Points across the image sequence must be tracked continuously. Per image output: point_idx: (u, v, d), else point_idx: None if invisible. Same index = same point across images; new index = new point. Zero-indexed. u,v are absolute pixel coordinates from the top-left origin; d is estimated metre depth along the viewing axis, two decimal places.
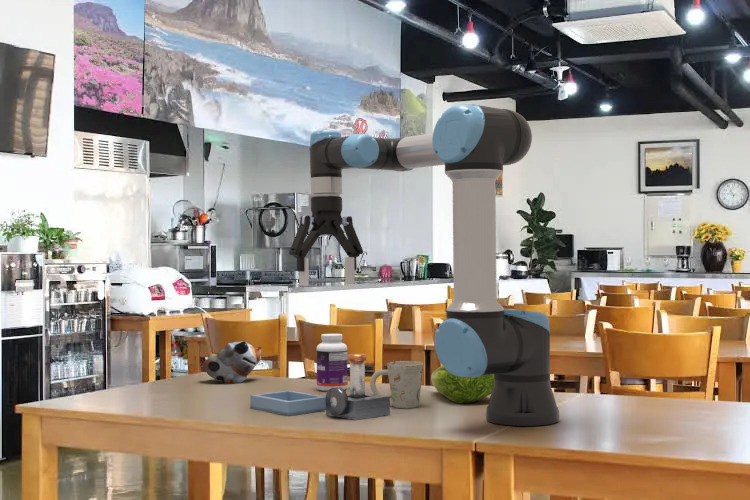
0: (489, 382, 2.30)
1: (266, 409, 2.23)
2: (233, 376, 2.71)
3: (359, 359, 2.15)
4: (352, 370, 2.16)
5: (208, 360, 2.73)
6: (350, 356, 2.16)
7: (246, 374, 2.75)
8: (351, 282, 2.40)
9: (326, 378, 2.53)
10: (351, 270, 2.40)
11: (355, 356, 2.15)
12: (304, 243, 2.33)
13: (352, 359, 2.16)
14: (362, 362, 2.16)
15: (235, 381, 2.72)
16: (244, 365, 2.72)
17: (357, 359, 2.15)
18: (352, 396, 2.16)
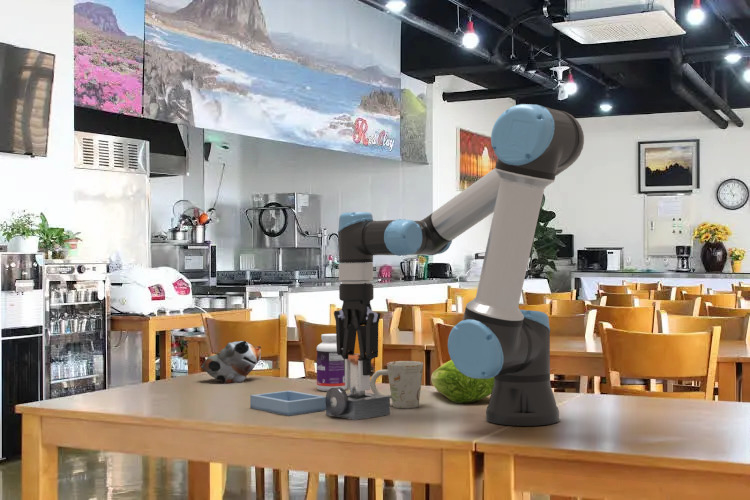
0: (489, 382, 2.30)
1: (266, 409, 2.23)
2: (234, 375, 2.73)
3: None
4: (352, 370, 2.16)
5: (208, 360, 2.74)
6: (350, 356, 2.16)
7: (246, 373, 2.76)
8: None
9: (326, 378, 2.53)
10: None
11: (355, 356, 2.15)
12: None
13: (352, 359, 2.16)
14: None
15: (236, 380, 2.73)
16: (244, 364, 2.73)
17: (357, 359, 2.15)
18: (352, 396, 2.16)
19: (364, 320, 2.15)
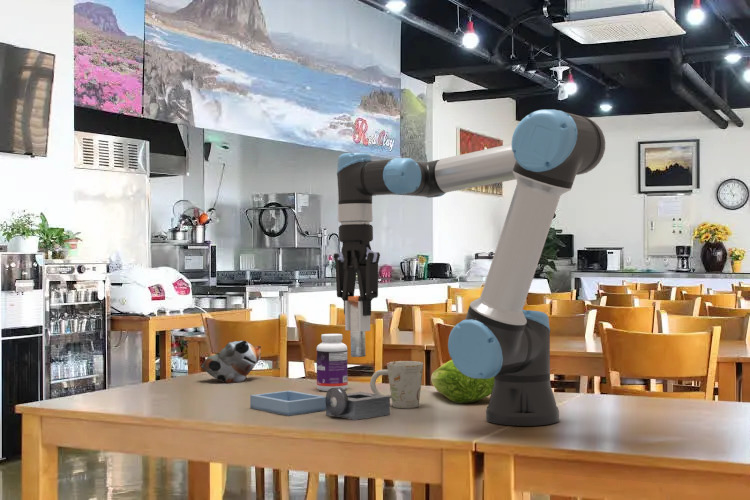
0: (489, 382, 2.30)
1: (266, 409, 2.23)
2: (234, 375, 2.73)
3: None
4: (352, 312, 2.16)
5: (209, 359, 2.74)
6: (350, 297, 2.16)
7: (246, 373, 2.77)
8: None
9: (326, 378, 2.53)
10: None
11: (355, 297, 2.15)
12: None
13: (352, 300, 2.16)
14: None
15: (236, 380, 2.74)
16: (245, 364, 2.74)
17: (357, 300, 2.15)
18: (352, 337, 2.16)
19: (364, 261, 2.15)
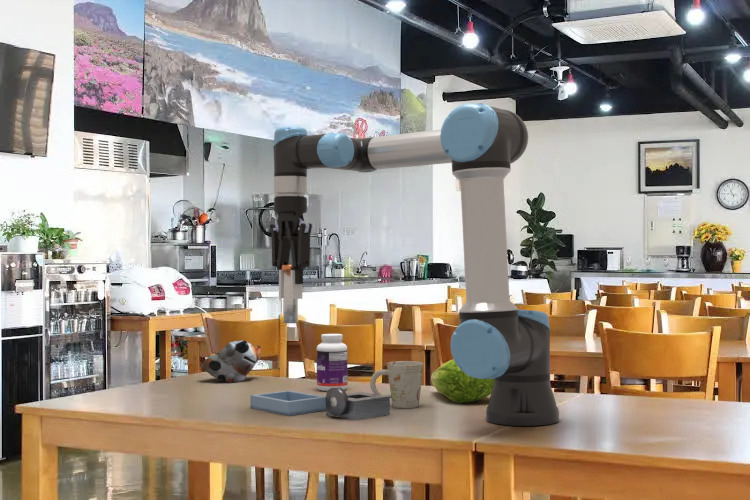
0: (489, 382, 2.30)
1: (266, 409, 2.23)
2: (234, 375, 2.74)
3: None
4: (285, 280, 2.25)
5: (209, 359, 2.75)
6: (283, 266, 2.24)
7: (246, 373, 2.78)
8: None
9: (326, 378, 2.53)
10: None
11: (288, 266, 2.24)
12: None
13: (285, 269, 2.24)
14: None
15: (236, 380, 2.75)
16: (245, 364, 2.75)
17: None
18: (285, 304, 2.25)
19: (297, 231, 2.24)
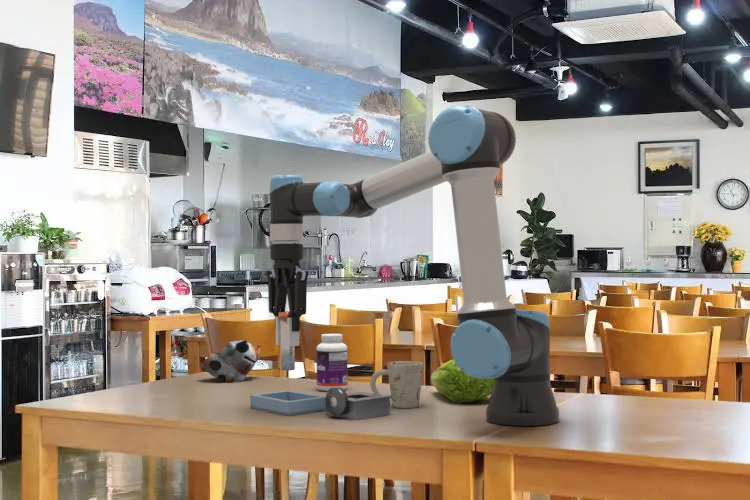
0: (489, 382, 2.30)
1: (266, 409, 2.23)
2: (235, 375, 2.75)
3: None
4: (282, 327, 2.25)
5: (209, 359, 2.75)
6: (280, 313, 2.25)
7: (246, 373, 2.78)
8: None
9: (326, 378, 2.53)
10: None
11: (285, 313, 2.24)
12: None
13: (282, 316, 2.25)
14: None
15: (236, 380, 2.75)
16: (245, 364, 2.75)
17: (286, 316, 2.24)
18: (282, 351, 2.25)
19: (293, 278, 2.24)
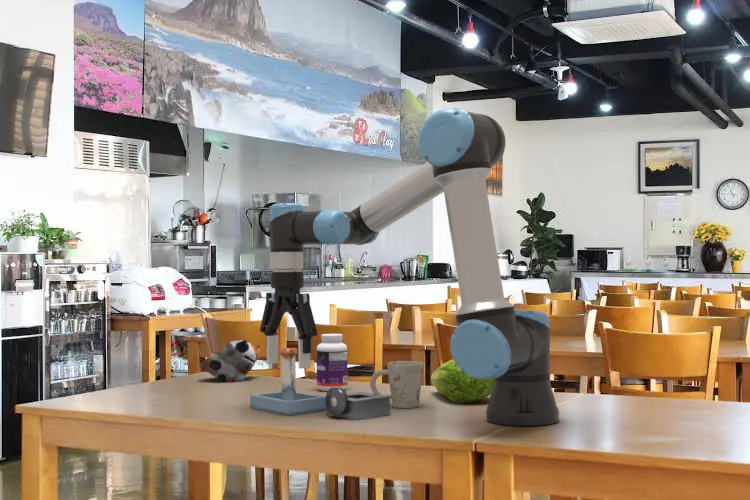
0: (490, 382, 2.30)
1: (266, 409, 2.23)
2: (235, 374, 2.75)
3: (289, 353, 2.24)
4: (283, 364, 2.25)
5: (209, 359, 2.76)
6: (281, 350, 2.25)
7: (246, 372, 2.79)
8: None
9: (326, 378, 2.53)
10: None
11: (286, 350, 2.24)
12: None
13: (283, 353, 2.24)
14: (293, 356, 2.25)
15: (236, 379, 2.76)
16: (245, 363, 2.76)
17: (287, 353, 2.24)
18: (283, 389, 2.25)
19: (294, 307, 2.24)
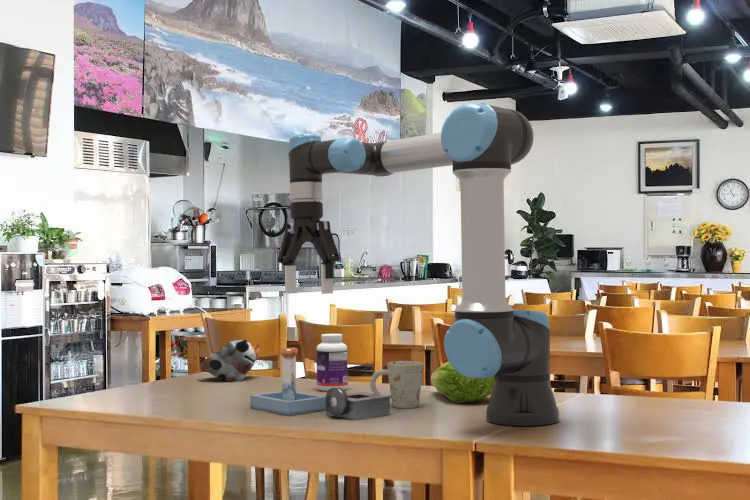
0: (490, 382, 2.30)
1: (266, 409, 2.23)
2: (235, 374, 2.76)
3: (290, 353, 2.24)
4: (283, 364, 2.25)
5: (209, 359, 2.76)
6: (281, 350, 2.24)
7: (246, 372, 2.80)
8: None
9: (326, 378, 2.53)
10: None
11: (286, 350, 2.24)
12: None
13: (283, 353, 2.24)
14: (293, 356, 2.25)
15: (236, 379, 2.77)
16: (245, 363, 2.77)
17: (288, 353, 2.24)
18: (283, 389, 2.25)
19: (314, 236, 2.27)
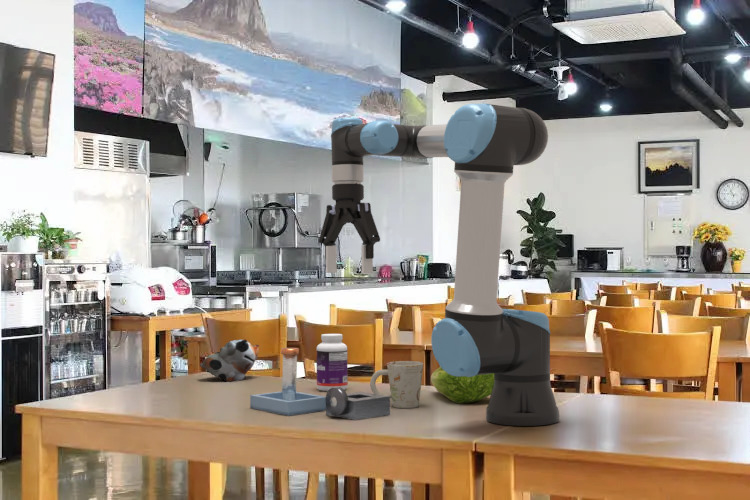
0: (490, 383, 2.30)
1: (266, 409, 2.23)
2: (235, 374, 2.77)
3: (291, 353, 2.24)
4: (284, 364, 2.25)
5: (209, 358, 2.77)
6: (283, 350, 2.25)
7: (245, 372, 2.81)
8: None
9: (326, 378, 2.53)
10: None
11: (287, 350, 2.24)
12: None
13: (284, 353, 2.24)
14: (294, 356, 2.25)
15: (236, 379, 2.77)
16: (245, 363, 2.78)
17: (289, 353, 2.24)
18: (283, 388, 2.25)
19: (355, 217, 2.33)
